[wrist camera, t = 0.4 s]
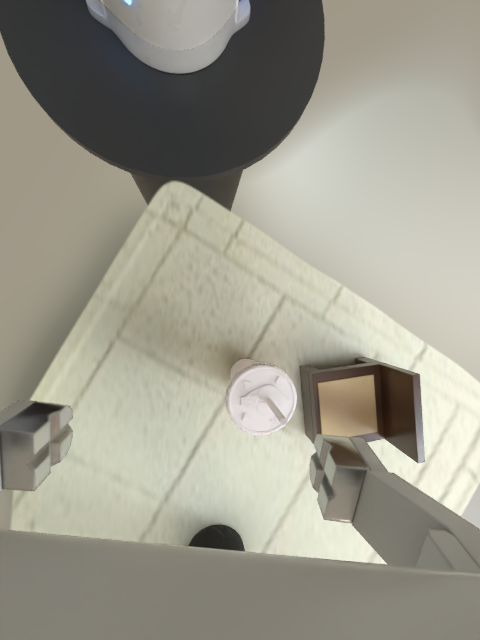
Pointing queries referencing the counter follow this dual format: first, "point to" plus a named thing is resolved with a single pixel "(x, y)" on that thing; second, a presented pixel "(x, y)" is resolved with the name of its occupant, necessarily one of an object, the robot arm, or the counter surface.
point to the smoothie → (260, 397)
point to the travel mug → (218, 538)
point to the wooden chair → (365, 404)
